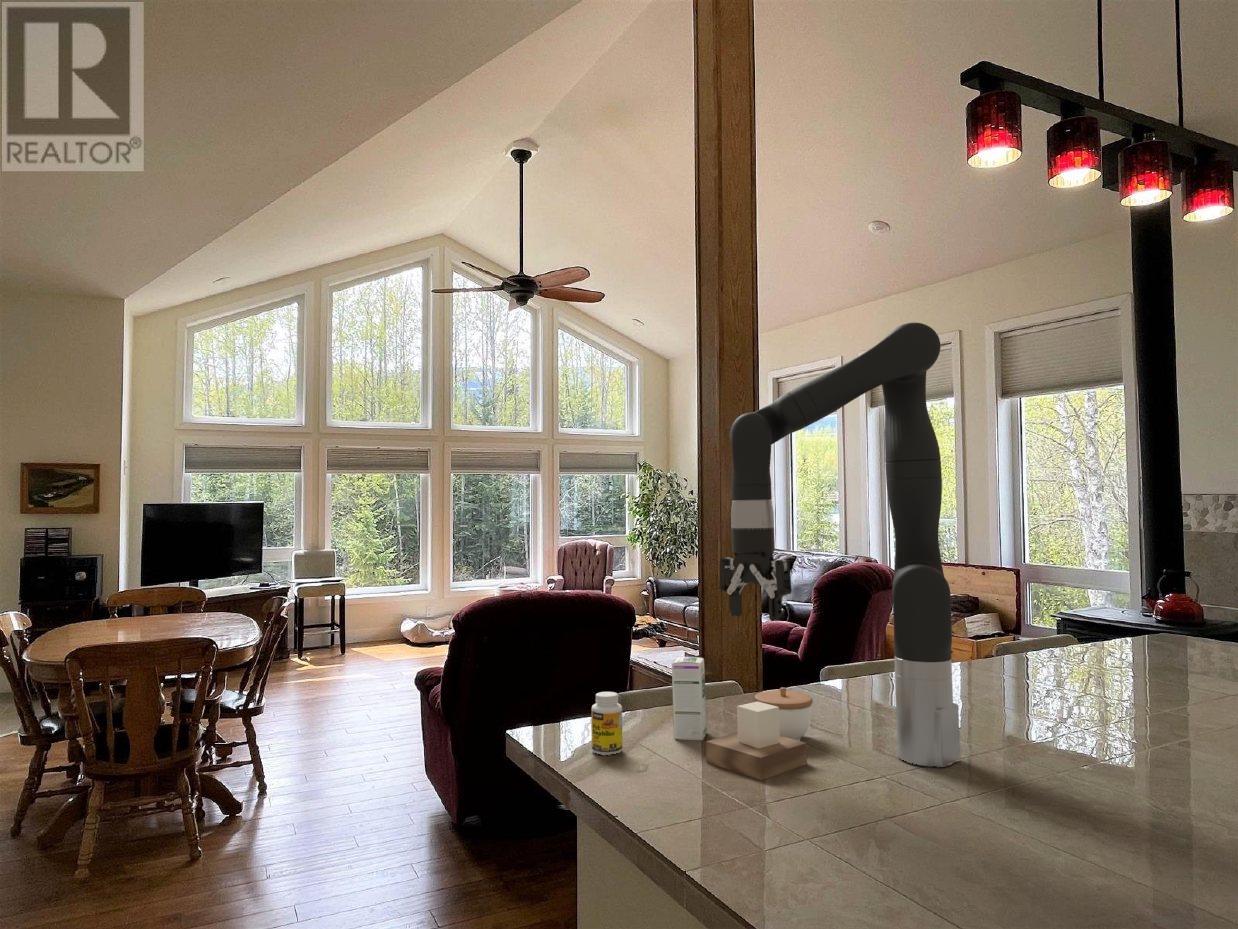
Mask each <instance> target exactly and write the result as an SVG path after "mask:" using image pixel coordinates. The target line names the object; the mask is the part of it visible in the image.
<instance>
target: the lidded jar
mask: <svg viewBox="0 0 1238 929" xmlns="http://www.w3.org/2000/svg"><path fill="white" fill-rule="evenodd" d="M754 702H762V703H765V704H769V705H773V706H777V707H779V730H780V736H783V737H787V738H790V739H794V740H798V741H801V740H802V737H803V736H805V734H806V733H807V732H808V730H809V729H810V726H811V724H812V718H813V716H812V715H813V697H812V696H811V695H810V694H807V693H804V692H799V691H795V690H787V688H786V687H783V686H782V687H780V689H779V690H766V691H761V692H758V693H756V694H755V695H754Z"/></svg>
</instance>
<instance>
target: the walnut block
mask: <svg viewBox="0 0 1238 929" xmlns="http://www.w3.org/2000/svg"><path fill="white" fill-rule="evenodd" d="M705 744H706V746H705V747H706V748H705V751H706V757H705V758H706V760H705V761H706V763H708V764H711V765H714V766H717V767H720V768H723V769H726V770H729V771H732V772H736V773H739V774H741V775H745V776H748V777H750V778H753V779H756V780H757V779H758V781H759V780H760V781H763V780H765V779H766V780H767V779H768V778H772V777H774V776H776V775H779V774H782V773H785V772H788V770H789V771H792V770H794V769H797V768H799V767H802V765H803V766H805V765H807V764H808V748H807V747H808V746H807V745H808V743H807V742H805V741H801V740H800V741H798V740H794V739H790V738H787V737H783V736H780V743H778V744H774V745H770V746H767V747H763V748H759V749H758V748H755V747H752V746H750V745H747V744H744V743H741V742H738V732H735V733H731V734H726V735H724V736H721V737H716V738H713V739H710V740H707V741H705ZM806 763H807V764H806ZM804 764H805V765H804ZM796 767H797V768H796Z"/></svg>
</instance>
